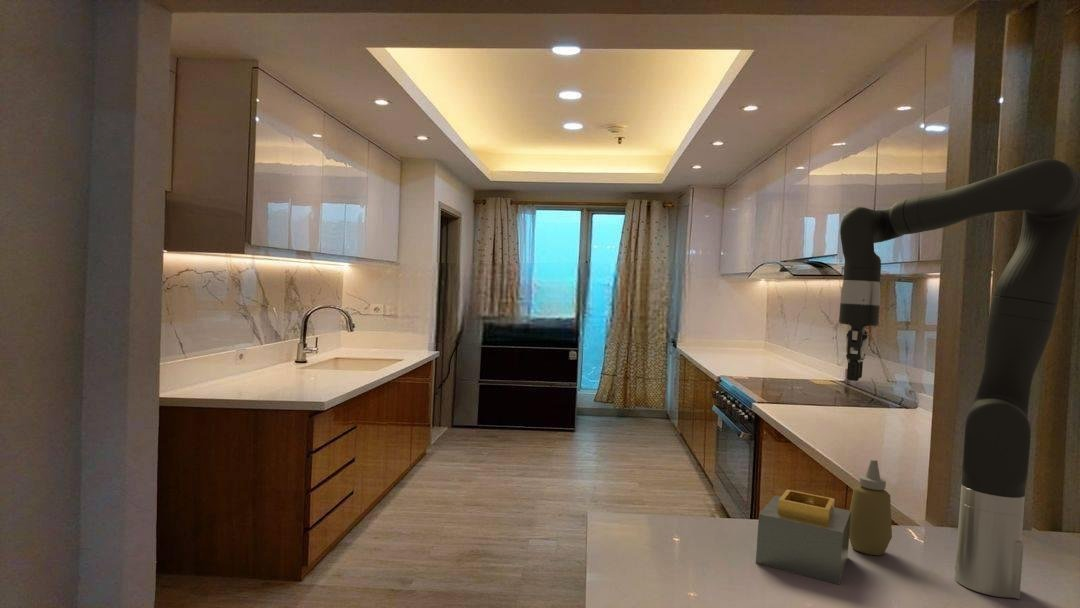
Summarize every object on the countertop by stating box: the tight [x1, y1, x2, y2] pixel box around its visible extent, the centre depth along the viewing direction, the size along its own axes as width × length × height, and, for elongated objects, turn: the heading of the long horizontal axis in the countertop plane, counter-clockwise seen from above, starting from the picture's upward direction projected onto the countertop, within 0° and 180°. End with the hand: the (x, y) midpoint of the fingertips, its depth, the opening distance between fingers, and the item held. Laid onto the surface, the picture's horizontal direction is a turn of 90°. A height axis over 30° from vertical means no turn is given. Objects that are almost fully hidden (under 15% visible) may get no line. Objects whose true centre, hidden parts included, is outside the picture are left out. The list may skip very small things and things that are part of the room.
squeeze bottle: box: [849, 459, 893, 556], centre depth 128 cm, size 8×8×18 cm
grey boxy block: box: [755, 489, 851, 585], centre depth 120 cm, size 14×15×12 cm
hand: (854, 379), depth 136 cm, fingers open, 8 cm apart
